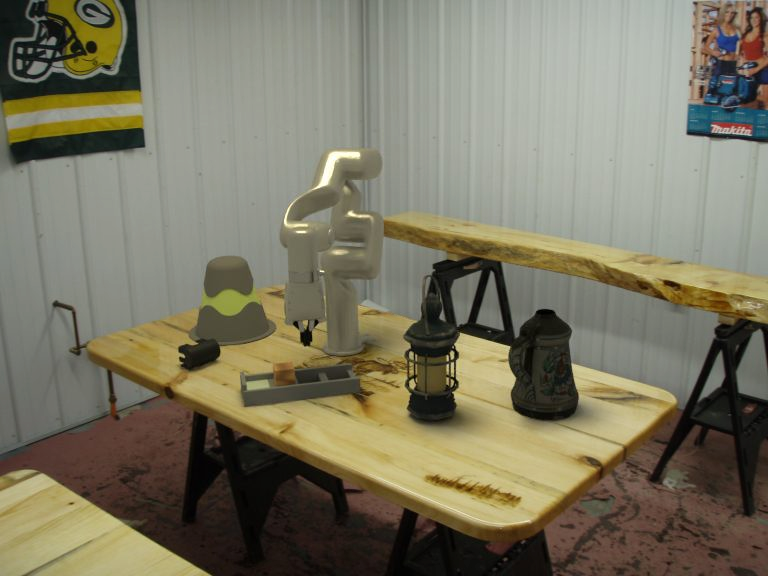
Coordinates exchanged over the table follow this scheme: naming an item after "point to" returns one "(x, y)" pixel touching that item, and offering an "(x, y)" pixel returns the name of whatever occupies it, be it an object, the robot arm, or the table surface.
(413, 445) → the table surface
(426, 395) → the lantern
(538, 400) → the beer stein
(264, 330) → the grey bell cover
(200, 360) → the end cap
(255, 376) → the tray
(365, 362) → the table surface
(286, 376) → the orange block
